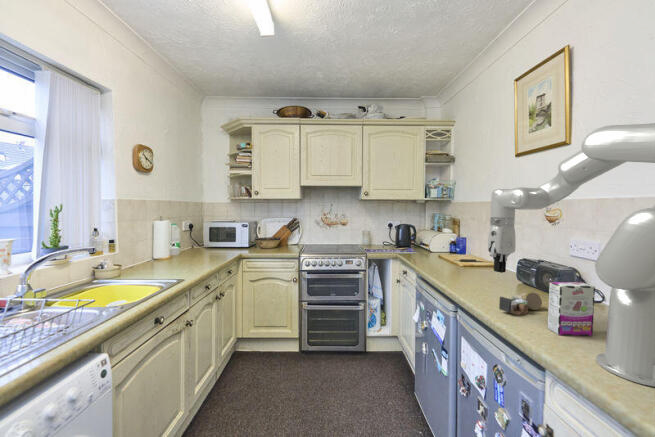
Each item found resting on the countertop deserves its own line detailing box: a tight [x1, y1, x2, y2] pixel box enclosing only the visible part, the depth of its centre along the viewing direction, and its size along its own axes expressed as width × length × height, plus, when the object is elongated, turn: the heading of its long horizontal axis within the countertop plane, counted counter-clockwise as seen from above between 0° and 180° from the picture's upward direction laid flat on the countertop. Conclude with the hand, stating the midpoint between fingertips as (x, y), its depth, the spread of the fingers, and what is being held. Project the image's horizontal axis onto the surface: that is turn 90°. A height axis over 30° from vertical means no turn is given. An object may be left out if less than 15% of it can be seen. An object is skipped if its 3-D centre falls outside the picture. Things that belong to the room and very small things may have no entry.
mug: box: [513, 291, 543, 311], centre depth 109 cm, size 8×10×10 cm
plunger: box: [498, 295, 527, 313], centre depth 104 cm, size 11×5×5 cm, turn 117°
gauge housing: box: [508, 297, 529, 317], centre depth 104 cm, size 6×7×4 cm
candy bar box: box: [547, 281, 596, 337], centre depth 87 cm, size 11×5×16 cm, turn 90°
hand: (499, 271), depth 99 cm, fingers closed
